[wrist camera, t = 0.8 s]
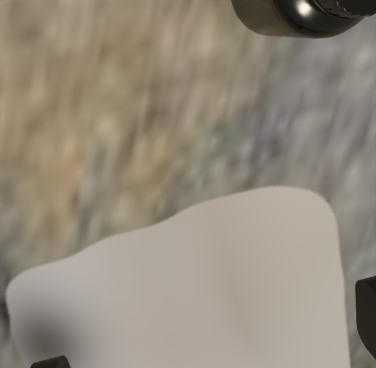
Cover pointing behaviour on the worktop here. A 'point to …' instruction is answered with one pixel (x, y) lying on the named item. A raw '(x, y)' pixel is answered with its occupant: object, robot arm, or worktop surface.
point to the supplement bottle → (302, 16)
